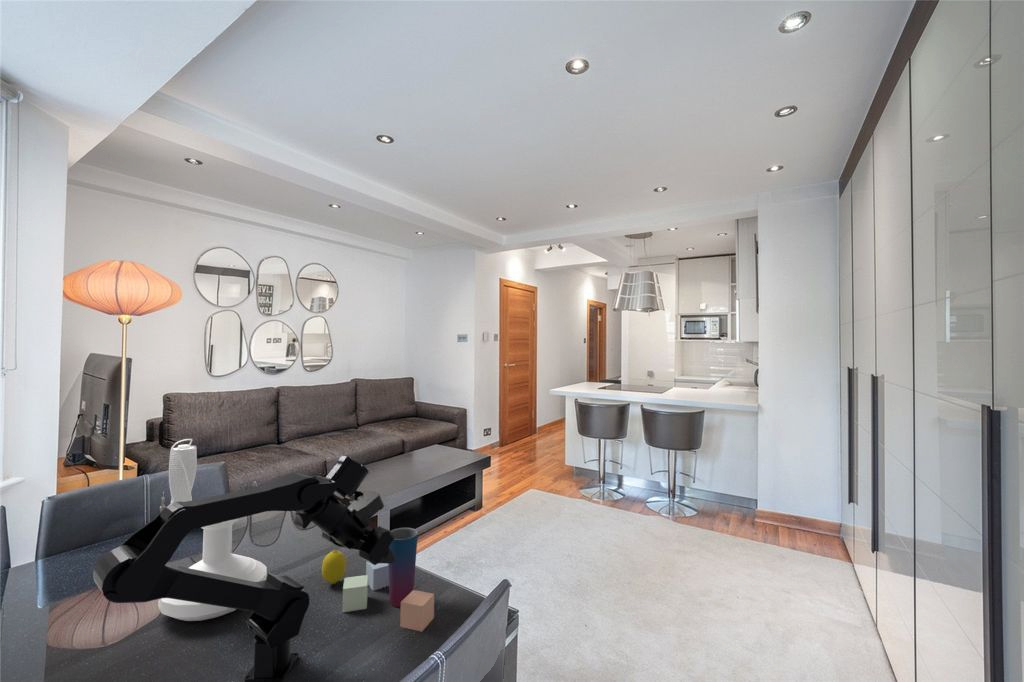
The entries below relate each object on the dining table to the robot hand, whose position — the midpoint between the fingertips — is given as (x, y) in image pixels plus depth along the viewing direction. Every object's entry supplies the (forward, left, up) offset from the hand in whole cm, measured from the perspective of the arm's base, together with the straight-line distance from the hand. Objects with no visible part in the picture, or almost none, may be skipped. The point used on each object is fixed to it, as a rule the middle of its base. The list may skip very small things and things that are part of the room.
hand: (380, 554), depth 94 cm
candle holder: (+4, +37, -12) cm, 40 cm away
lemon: (+12, +14, -12) cm, 23 cm away
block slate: (+12, +3, -12) cm, 18 cm away
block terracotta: (-4, -9, -12) cm, 15 cm away
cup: (+4, -4, -12) cm, 14 cm away
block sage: (+3, +6, -12) cm, 14 cm away
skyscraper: (+48, +76, -12) cm, 91 cm away
